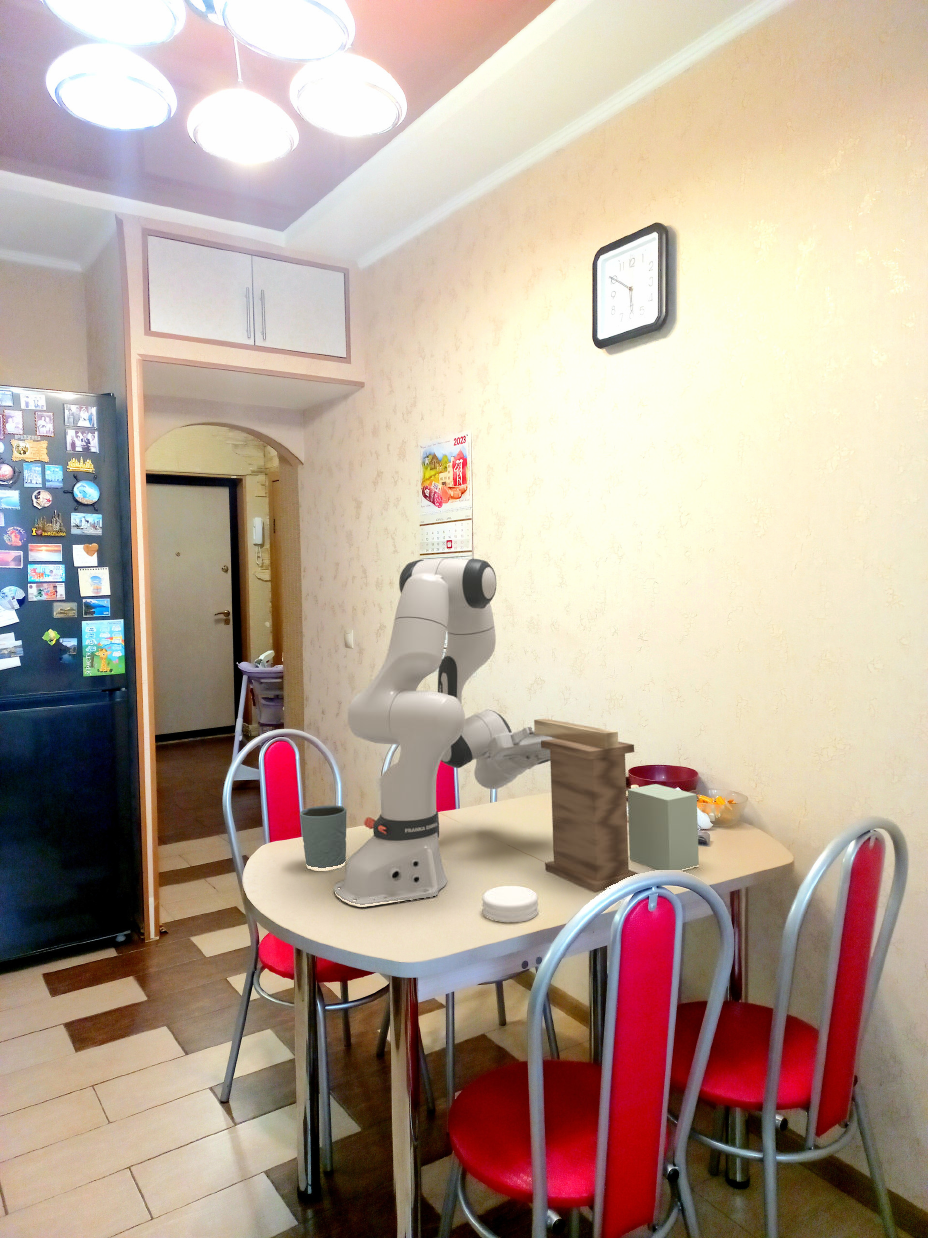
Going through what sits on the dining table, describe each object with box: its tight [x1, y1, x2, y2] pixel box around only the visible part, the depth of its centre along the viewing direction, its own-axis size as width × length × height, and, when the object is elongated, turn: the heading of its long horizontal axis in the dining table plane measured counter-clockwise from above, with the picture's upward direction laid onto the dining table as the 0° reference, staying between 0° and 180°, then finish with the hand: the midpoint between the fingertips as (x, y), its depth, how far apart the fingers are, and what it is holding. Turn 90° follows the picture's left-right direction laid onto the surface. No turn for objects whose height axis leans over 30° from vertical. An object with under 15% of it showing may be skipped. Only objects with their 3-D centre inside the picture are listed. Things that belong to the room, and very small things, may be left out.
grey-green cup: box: [299, 804, 347, 868], centre depth 180 cm, size 10×10×12 cm
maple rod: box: [533, 717, 619, 749], centre depth 170 cm, size 3×24×3 cm, turn 30°
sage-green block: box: [627, 783, 700, 872], centre depth 173 cm, size 8×12×15 cm, turn 30°
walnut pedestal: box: [541, 738, 639, 893], centre depth 167 cm, size 11×16×27 cm
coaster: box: [481, 885, 539, 924], centre depth 149 cm, size 10×10×4 cm
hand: (547, 728), depth 178 cm, fingers open, 8 cm apart
